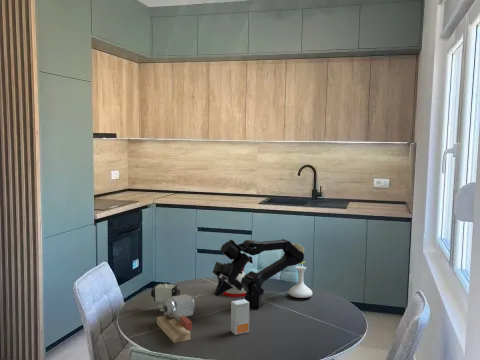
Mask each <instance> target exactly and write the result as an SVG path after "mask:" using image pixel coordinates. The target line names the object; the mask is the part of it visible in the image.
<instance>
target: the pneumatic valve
mask: <svg viewBox="0 0 480 360" xmlns="http://www.w3.org/2000/svg"><path fill="white" fill-rule="evenodd" d="M179 295H181V290H180V288H178V285H177V284H176V285H175V284H167V283H163V284H162V283H158V284H156V285H154V286H153V287H152V288H151V291H150V296H151V298H152V299H153V302H160V304H159V306H158V308H159V311H160V312H161V313H162V312H163V313H164V310H163V301H164V299H168V298H171V297H173V296H179Z"/></svg>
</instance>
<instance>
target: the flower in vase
mask: <svg viewBox="0 0 480 360" xmlns="http://www.w3.org/2000/svg"><path fill="white" fill-rule="evenodd" d="M291 244H292V245H293V246H295V247H296V248H297V249H298V250H299V251H301V252H303V254H304V253H305V252H306V251H305V248H304V246H303V245H300V243H298V244H297V243H291ZM304 255H305V254H304ZM306 263H307V260H303V262H301V263H299V264H297V266H295V269H296V270H297V275H298V278H297V280H298V281H297V283H296V284H294V285H293V286H292V287H291V288H290V289H289V290H288V292H287V293H288V294H289V295H290V296H291V297H294V298H297V299H298V298H300V299H302V298H303V299H304V298H310V297H311V296H313V291H312V289H311V288H309V287H308V286H307V285H306V284H305V283H304V273H305V271H306V270H307V267H306V266H303V264H306ZM301 265H302V266H301Z"/></svg>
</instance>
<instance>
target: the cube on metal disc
mask: <svg viewBox="0 0 480 360" xmlns="http://www.w3.org/2000/svg"><path fill="white" fill-rule="evenodd" d="M171 298H173V299H174V300H175V303H176V307H177V310H178V311H179V312H180V313H181V314H182V315H183V316H186V317H189V316H193V315H194V312H195V309H196V307H195V306H196V305H195V300H194V297H193V296H192V295H189V294H187V293H185V294H180V295H179V296H173V297H171Z"/></svg>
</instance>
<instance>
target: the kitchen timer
mask: <svg viewBox="0 0 480 360" xmlns="http://www.w3.org/2000/svg"><path fill="white" fill-rule="evenodd" d="M245 268H246V266H245V267H244V268H243V269H242V272H243V273H242V274H239V275H238V276H237V278H236V279H237V280H238V281H239V282H241V280H242V278H243V277H244V275H246V274H247V273H245V272H244V269H245ZM232 287H233V289H232V288H231V289H229V290H227V291H225V292H223V293H222V295H224V296H225V297H226V296H227V297H231V298H243V296H244V297H245V296H246V291H244V288H242V289H241V291H239V290H238V289H237V288H236V287H235V286H234V285H233V286H232Z"/></svg>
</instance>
